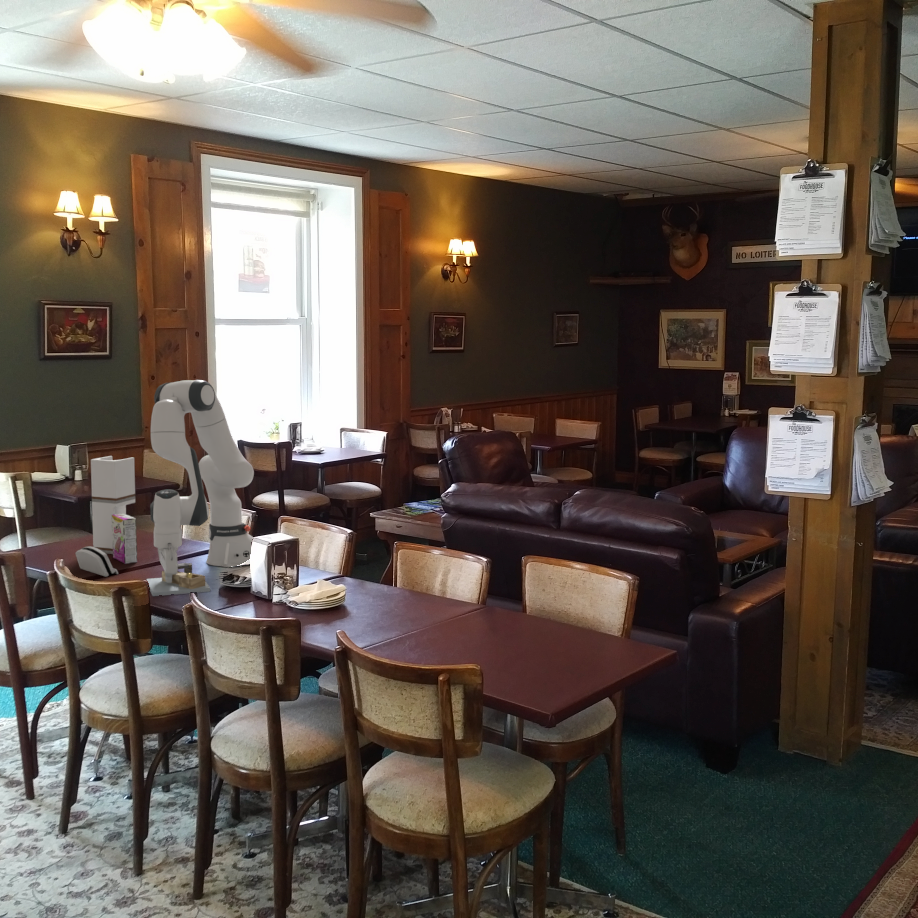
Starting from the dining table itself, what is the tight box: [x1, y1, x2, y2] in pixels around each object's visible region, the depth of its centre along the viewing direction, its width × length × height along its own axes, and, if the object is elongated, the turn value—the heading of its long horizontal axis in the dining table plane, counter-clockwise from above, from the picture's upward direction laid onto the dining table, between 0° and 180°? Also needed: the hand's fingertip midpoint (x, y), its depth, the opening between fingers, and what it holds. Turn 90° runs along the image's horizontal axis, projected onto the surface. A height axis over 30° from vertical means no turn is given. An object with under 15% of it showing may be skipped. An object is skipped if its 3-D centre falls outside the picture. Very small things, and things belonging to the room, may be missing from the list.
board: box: [145, 577, 211, 597], centre depth 326 cm, size 18×18×1 cm
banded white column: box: [90, 455, 136, 555], centre depth 373 cm, size 11×11×35 cm
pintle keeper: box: [177, 562, 193, 578], centre depth 326 cm, size 8×13×6 cm, turn 23°
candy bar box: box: [112, 513, 138, 565], centre depth 358 cm, size 11×5×16 cm, turn 41°
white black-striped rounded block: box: [74, 545, 119, 577], centre depth 342 cm, size 17×5×10 cm, turn 50°
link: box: [161, 570, 206, 589], centre depth 325 cm, size 16×6×3 cm, turn 56°
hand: (168, 581), depth 324 cm, fingers closed
